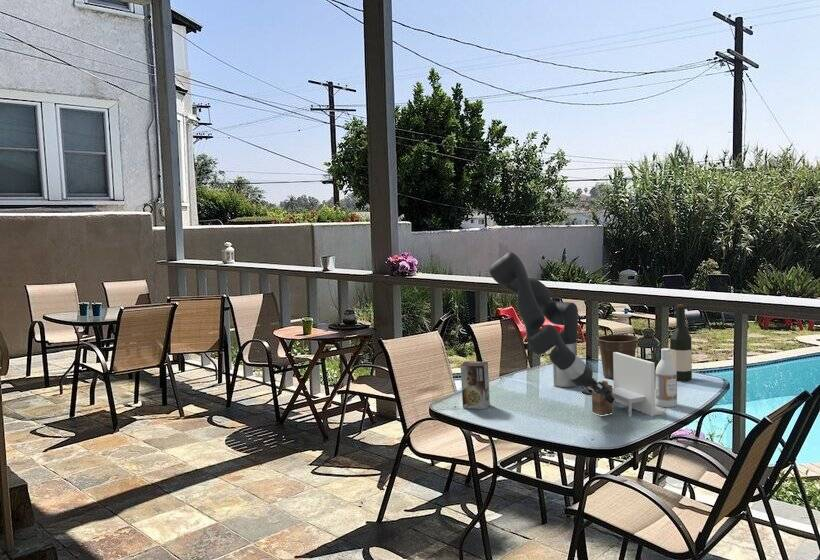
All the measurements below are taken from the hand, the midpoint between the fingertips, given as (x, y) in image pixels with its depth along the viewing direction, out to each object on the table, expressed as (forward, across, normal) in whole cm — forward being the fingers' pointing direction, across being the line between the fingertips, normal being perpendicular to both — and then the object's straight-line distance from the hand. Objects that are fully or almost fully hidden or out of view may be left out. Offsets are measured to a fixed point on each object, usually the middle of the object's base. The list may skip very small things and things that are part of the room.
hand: (604, 398), depth 233 cm
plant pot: (+28, -38, +20) cm, 52 cm away
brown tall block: (+3, 0, -4) cm, 5 cm away
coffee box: (-20, -30, -28) cm, 46 cm away
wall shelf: (+11, 0, +4) cm, 12 cm away
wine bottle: (+40, -21, +33) cm, 56 cm away
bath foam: (+21, +3, +13) cm, 24 cm away
